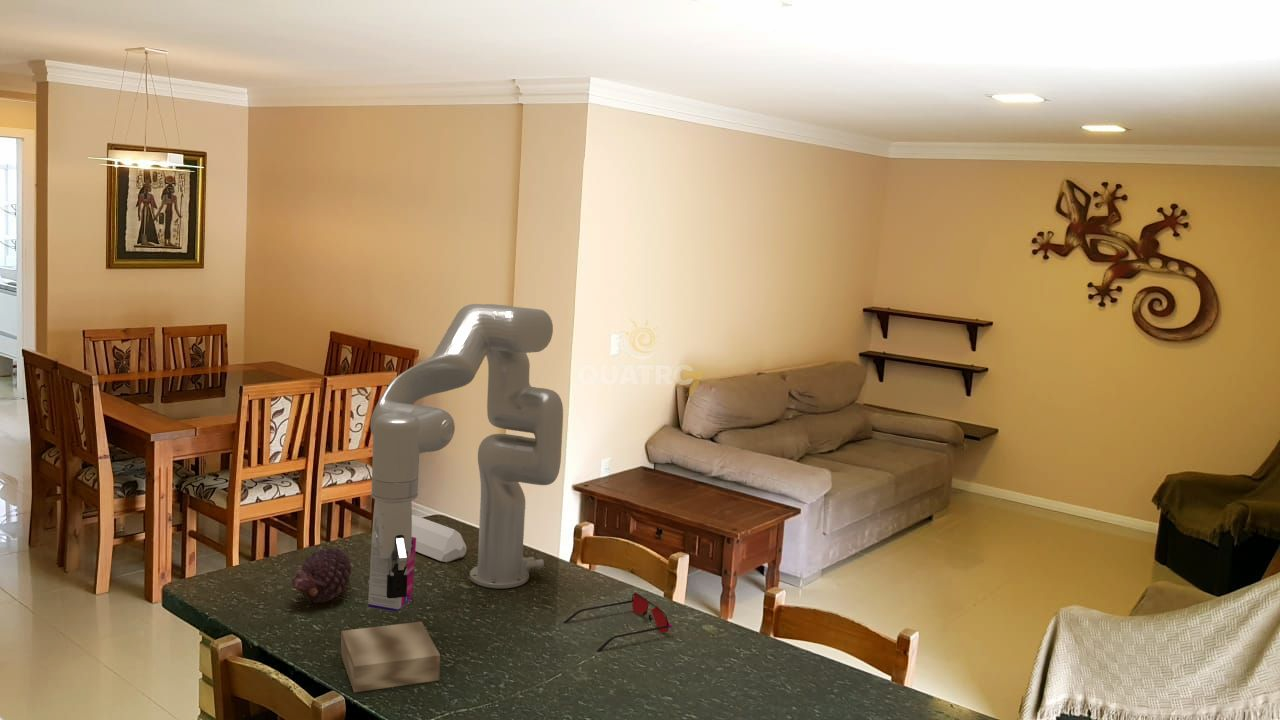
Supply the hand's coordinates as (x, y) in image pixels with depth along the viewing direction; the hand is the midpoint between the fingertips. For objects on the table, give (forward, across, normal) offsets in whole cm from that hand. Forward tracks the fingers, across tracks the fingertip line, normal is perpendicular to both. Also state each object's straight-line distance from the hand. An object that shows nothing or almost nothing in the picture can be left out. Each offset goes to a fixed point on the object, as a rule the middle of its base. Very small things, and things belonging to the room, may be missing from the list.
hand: (391, 587), depth 169 cm
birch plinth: (+15, 0, 0) cm, 15 cm away
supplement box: (+3, 0, 0) cm, 3 cm away
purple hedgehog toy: (+15, -33, -6) cm, 37 cm away
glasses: (+15, -3, +44) cm, 47 cm away
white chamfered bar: (+15, -56, +19) cm, 61 cm away
